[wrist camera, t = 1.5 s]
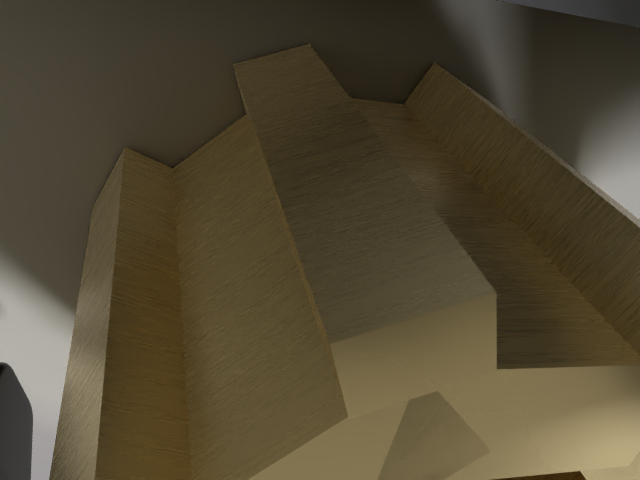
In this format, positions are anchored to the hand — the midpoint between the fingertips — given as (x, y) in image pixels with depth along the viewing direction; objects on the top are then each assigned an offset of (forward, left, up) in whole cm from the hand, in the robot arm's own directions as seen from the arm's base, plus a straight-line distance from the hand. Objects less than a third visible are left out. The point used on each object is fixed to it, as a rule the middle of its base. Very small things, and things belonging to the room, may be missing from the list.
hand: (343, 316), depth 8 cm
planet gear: (0, 0, -1) cm, 1 cm away
